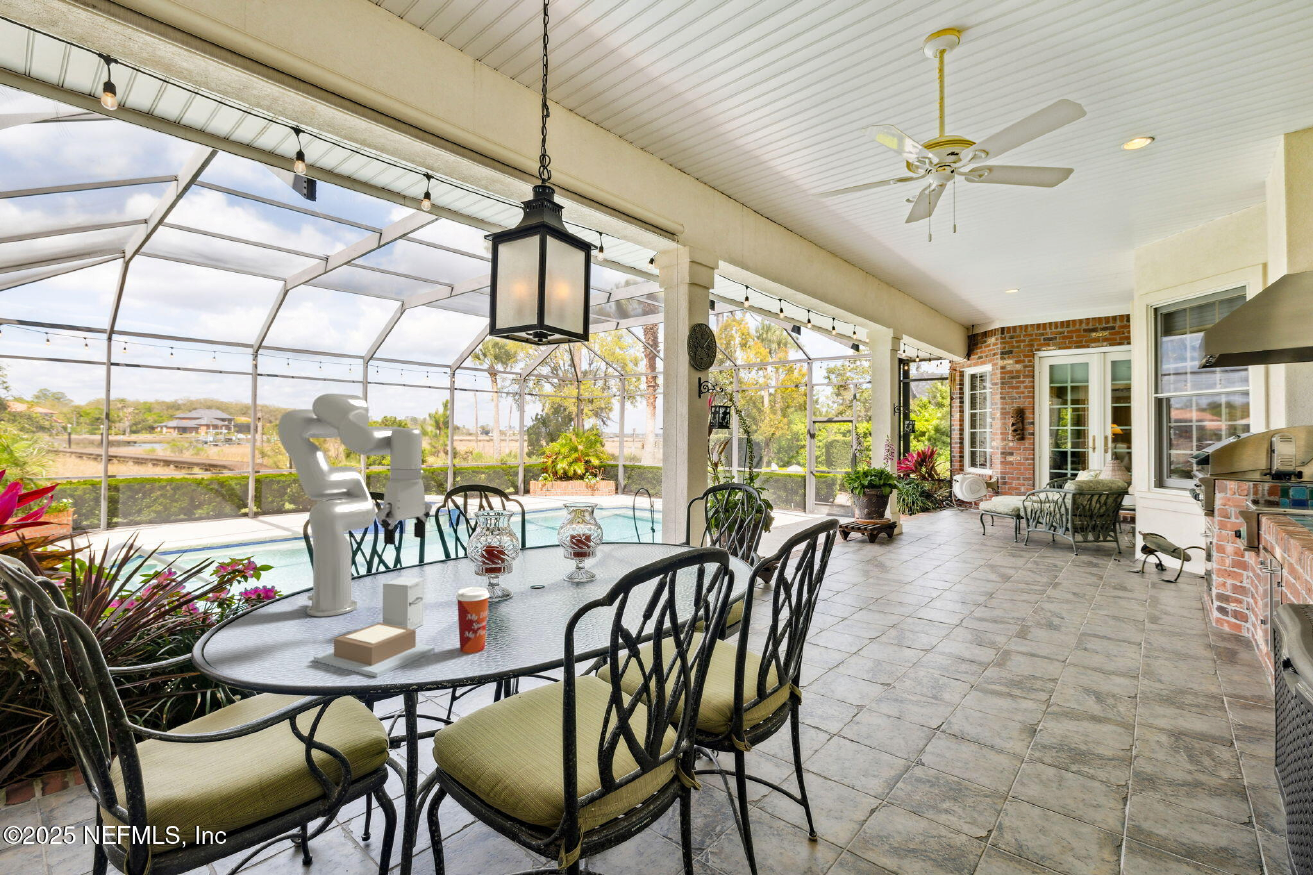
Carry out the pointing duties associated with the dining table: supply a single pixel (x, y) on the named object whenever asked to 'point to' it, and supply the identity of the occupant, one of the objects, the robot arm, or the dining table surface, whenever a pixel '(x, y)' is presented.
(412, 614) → the supplement box
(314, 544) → the robot arm
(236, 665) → the dining table surface
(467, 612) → the paper cup
